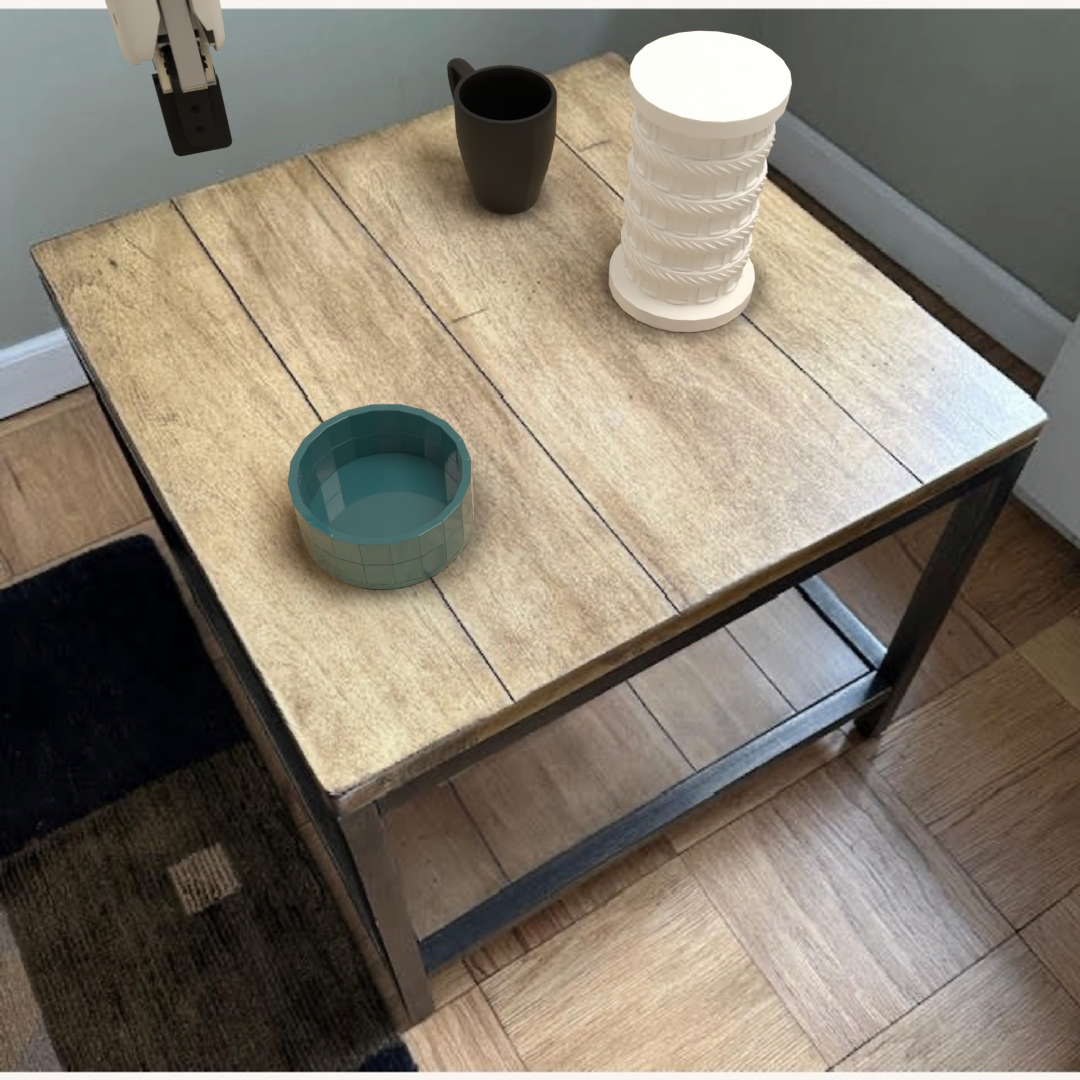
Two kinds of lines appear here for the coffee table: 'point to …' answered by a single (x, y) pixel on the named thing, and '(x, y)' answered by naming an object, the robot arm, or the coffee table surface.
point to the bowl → (383, 495)
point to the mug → (503, 131)
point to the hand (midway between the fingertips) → (201, 143)
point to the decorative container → (695, 177)
